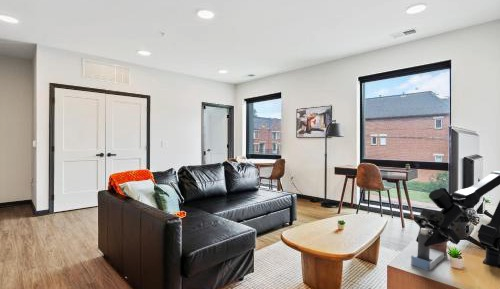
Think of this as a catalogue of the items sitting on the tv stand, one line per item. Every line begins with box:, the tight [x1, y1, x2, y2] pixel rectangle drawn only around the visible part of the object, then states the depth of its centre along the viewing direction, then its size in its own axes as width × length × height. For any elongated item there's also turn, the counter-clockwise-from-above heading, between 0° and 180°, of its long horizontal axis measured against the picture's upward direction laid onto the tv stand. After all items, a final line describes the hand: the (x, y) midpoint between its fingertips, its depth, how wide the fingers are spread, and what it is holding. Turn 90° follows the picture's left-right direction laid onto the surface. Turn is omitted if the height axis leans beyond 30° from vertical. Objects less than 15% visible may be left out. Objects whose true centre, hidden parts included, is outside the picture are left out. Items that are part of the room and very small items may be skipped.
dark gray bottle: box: [417, 228, 430, 261], centre depth 107 cm, size 4×4×12 cm
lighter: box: [429, 229, 448, 256], centre depth 121 cm, size 8×3×10 cm, turn 40°
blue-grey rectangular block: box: [410, 248, 445, 272], centre depth 111 cm, size 18×6×4 cm, turn 129°
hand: (420, 243), depth 107 cm, fingers closed on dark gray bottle, 4 cm apart
